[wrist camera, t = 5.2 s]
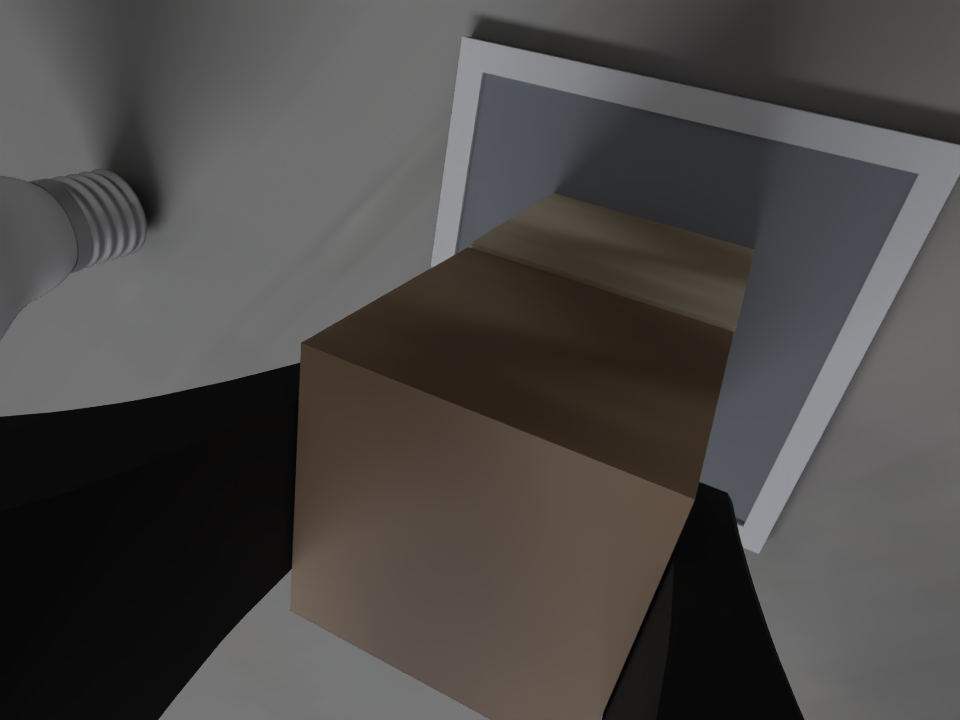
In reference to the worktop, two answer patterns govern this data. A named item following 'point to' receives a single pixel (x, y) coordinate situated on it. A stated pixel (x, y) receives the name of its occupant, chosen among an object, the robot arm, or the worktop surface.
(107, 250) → the lightbulb
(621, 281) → the beech block
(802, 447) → the grey square tray
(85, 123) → the worktop surface
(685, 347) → the walnut block
